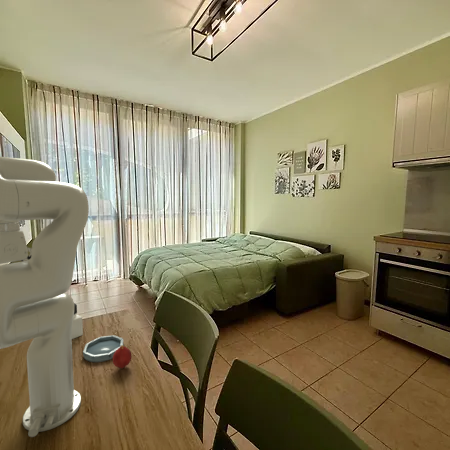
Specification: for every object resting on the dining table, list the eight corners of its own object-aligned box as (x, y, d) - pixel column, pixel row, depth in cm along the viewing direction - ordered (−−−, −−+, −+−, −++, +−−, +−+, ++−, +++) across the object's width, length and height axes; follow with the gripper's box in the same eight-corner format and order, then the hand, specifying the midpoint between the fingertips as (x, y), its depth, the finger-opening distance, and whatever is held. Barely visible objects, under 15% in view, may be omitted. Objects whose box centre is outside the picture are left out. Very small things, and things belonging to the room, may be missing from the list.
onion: (113, 364, 86) (112, 342, 85) (131, 360, 88) (130, 338, 87) (112, 375, 80) (112, 352, 79) (132, 371, 83) (131, 348, 82)
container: (74, 329, 108) (73, 299, 107) (83, 335, 104) (82, 304, 102) (53, 336, 102) (52, 305, 100) (62, 343, 97) (60, 311, 96)
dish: (122, 358, 89) (122, 352, 89) (79, 365, 85) (79, 359, 85) (124, 338, 101) (124, 333, 101) (87, 343, 97) (87, 338, 97)
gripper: (-25, 231, 75) (-20, 287, 77) (40, 226, 91) (42, 273, 92) (-36, 230, 79) (-31, 283, 80) (28, 225, 94) (31, 270, 96)
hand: (8, 278), depth 86 cm, fingers open, 9 cm apart
